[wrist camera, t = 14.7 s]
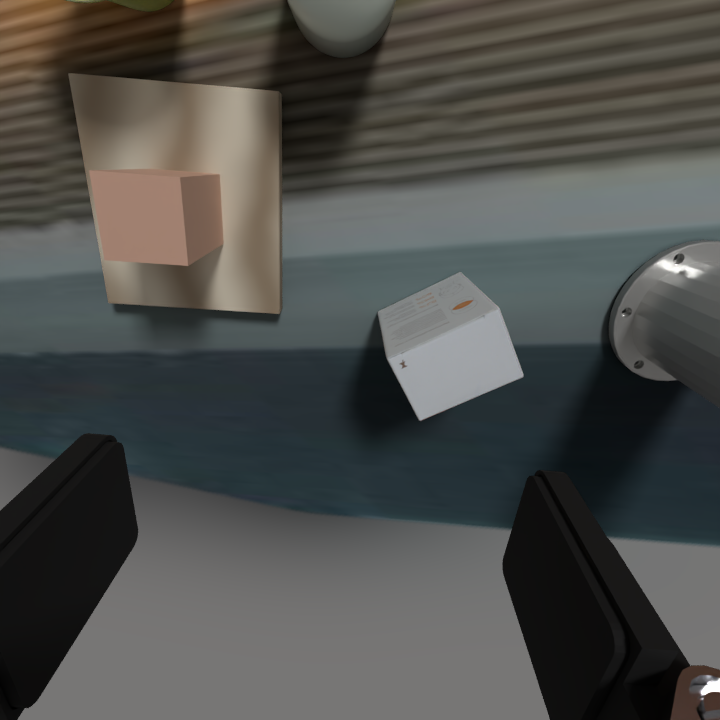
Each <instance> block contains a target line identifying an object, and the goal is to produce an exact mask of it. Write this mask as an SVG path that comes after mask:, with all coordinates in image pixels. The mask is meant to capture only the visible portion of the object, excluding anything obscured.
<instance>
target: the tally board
mask: <svg viewBox="0 0 720 720" xmlns="http://www.w3.org/2000/svg"><path fill="white" fill-rule="evenodd" d="M68 75H69V81H70V86H71V92H72V98H73V103H74V109H75V115H76V121H77V126H78V132H79V138H80V143H81V149H82V155H83V160H84V166H85V172H86V177H87V183H88V189H89V194H90V200H91V206H92V211H93V217H94V223H95V228H96V234H97V240H98V246H99V251H100V257H101V263H102V268H103V274H104V280H105V285H106V291H107V297H108V302H109V303H116V304H132V305H147V306H163V307H179V308H195V309H210V310H226V311H242V312H257V313H273V314H280V312H281V310H282V94H281V93H280V92H279V91H270V90H259V89H247V88H236V87H224V86H212V85H201V84H189V83H178V82H166V81H155V80H143V79H132V78H120V77H109V76H97V75H86V74H74V73H68ZM120 169H161V170H174V171H187V172H200V173H213V174H220V187H221V205H222V222H223V240H224V244H222V245H221V246H219V247H218V248H216V249H214V250H213V251H211V252H210V253H208V254H206V255H205V256H203V257H202V258H200V259H198V260H197V261H195V262H194V263H192V264H190V265H189V266H182V265H168V264H153V263H138V262H123V261H109V260H104V254H103V249H102V243H101V237H100V231H99V225H98V220H97V214H96V208H95V202H94V197H93V191H92V185H91V179H90V173H89V170H120Z"/></svg>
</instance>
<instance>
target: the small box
mask: <svg viewBox="0 0 720 720" xmlns="http://www.w3.org/2000/svg"><path fill="white" fill-rule="evenodd" d="M377 313H378V318H379V323H380V328H381V333H382V338H383V344H384V349H385V354H386V358H387V361H388V362H389V364H390V366H391V368H392V370H393V372H394V374H395V376H396V378H397V379H398V381H399V383H400V385H401V387H402V389H403V391H404V393H405V395H406V397H407V398H408V400H409V402H410V404H411V406H412V408H413V410H414V412H415V414H416V416H417V418H418V419H419V420H420V421H422V420H424V419H426V418H429V417H431V416H433V415H436V414H438V413H440V412H443V411H445V410H447V409H449V408H452V407H454V406H456V405H459V404H461V403H463V402H466V401H468V400H470V399H473V398H475V397H478V396H480V395H482V394H484V393H487V392H489V391H492V390H494V389H496V388H499V387H501V386H503V385H506V384H508V383H510V382H513V381H515V380H517V379H520V378H522V377H523V376H524V375H523V372H522V369H521V366H520V364H519V361H518V358H517V355H516V352H515V350H514V347H513V344H512V341H511V339H510V336H509V333H508V330H507V327H506V325H505V322H504V319H503V317H502V314H501V311H500V309H499V307H498V306H497V305H496V304H494V303H493V302H492V301H491V300H490V299H489V298H488V297H487V296H486V295H485V294H484V293H483V292H482V291H481V290H480V289H478V288H477V287H476V286H475V285H474V284H473V283H472V282H471V281H470V280H469V279H468V278H467V277H465V276H464V275H463V274H462V273H461V272H459V273H457V274H455V275H453V276H451V277H449V278H447V279H444V280H442V281H440V282H438V283H436V284H434V285H432V286H430V287H428V288H426V289H424V290H422V291H420V292H417V293H415V294H413V295H411V296H409V297H407V298H405V299H403V300H401V301H399V302H397V303H395V304H393V305H390V306H388V307H386V308H384V309H382V310H380V311H378V312H377Z"/></svg>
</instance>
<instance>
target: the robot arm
mask: <svg viewBox="0 0 720 720" xmlns="http://www.w3.org/2000/svg"><path fill="white" fill-rule="evenodd" d="M609 339H610V343H611V347H612V349H613V351H614V353H615V355H616V357H617V358H618V359H619V360H620V361H621V362H622V363H623V365H624V366H626V367H627V368H628V369H630V370H631V371H632V372H634V373H636V374H638V375H640V376H642V377H644V378H648V379H652V380H657V381H674V380H678V381H680V382H681V383H683V384H684V385H686V386H687V387H689V388H690V389H692V390H693V391H695V392H696V393H698V394H699V395H701V396H702V397H704V398H705V399H707V400H708V401H710V402H711V403H713V404H714V405H716V406H717V407H719V408H720V241H710V240H700V241H691V242H686V243H683V244H680V245H677V246H673V247H671V248H669V249H667V250H665V251H663V252H661V253H659V254H657V255H656V256H655V257H653V258H652V259H650V260H649V261H647V262H646V263H645V264H643V265H642V266H641V267H640V268H639V269H638V270H637V271H636V272H635V273H634V274H633V275H632V276H631V277H630V279H629V280H628V281H627V282H626V283H625V285H624V286H623V288H622V289H621V291H620V293H619V295H618V296H617V298H616V300H615V303H614V305H613V308H612V311H611V315H610V320H609ZM137 536H138V526H137V521H136V515H135V510H134V504H133V498H132V492H131V487H130V481H129V475H128V470H127V464H126V459H125V453H124V448H123V445H122V444H121V443H119V442H117V440H116V438H115V437H114V436H112V435H101V434H89V433H87V434H84V435H82V436H81V437H79V438H78V439H77V440H76V441H75V442H74V443H73V444H72V445H71V446H70V447H69V448H68V449H66V450H65V451H64V452H63V453H62V454H61V455H60V456H59V457H58V458H57V459H56V460H55V461H54V462H52V463H51V464H50V465H49V466H48V467H47V468H46V469H45V470H44V471H43V472H42V473H41V474H40V475H38V476H37V477H36V478H35V479H34V480H33V481H32V482H31V483H30V484H29V485H28V486H27V487H26V488H24V489H23V491H21V492H20V493H19V494H18V495H17V496H16V497H15V498H14V499H13V500H11V501H10V502H9V503H8V504H7V505H6V506H5V507H4V508H3V509H2V510H1V511H0V720H17V719H18V717H19V716H20V714H21V713H22V711H23V710H24V708H29V707H31V706H32V705H33V704H34V703H35V702H36V701H37V700H38V698H39V697H40V696H41V694H42V692H43V691H44V689H45V687H46V686H47V684H48V683H49V681H50V680H51V678H52V676H53V675H54V673H55V671H56V670H57V668H58V667H59V665H60V663H61V662H62V660H63V659H64V657H65V656H66V654H67V652H68V651H69V649H70V648H71V646H72V645H73V643H74V641H75V640H76V638H77V637H78V635H79V633H80V632H81V630H82V629H83V627H84V625H85V624H86V622H87V621H88V619H89V617H90V616H91V614H92V613H93V611H94V609H95V608H96V606H97V605H98V603H99V601H100V600H101V598H102V597H103V595H104V593H105V592H106V590H107V589H108V587H109V585H110V584H111V582H112V581H113V579H114V577H115V576H116V574H117V573H118V571H119V570H120V568H121V566H122V565H123V563H124V561H125V560H126V558H127V557H128V555H129V554H130V552H131V550H132V549H133V547H134V545H135V543H136V540H137ZM503 574H504V577H505V581H506V584H507V587H508V590H509V593H510V596H511V599H512V603H513V606H514V609H515V612H516V615H517V618H518V621H519V624H520V627H521V631H522V633H523V637H524V640H525V643H526V646H527V649H528V652H529V655H530V658H531V662H532V664H533V668H534V670H535V674H536V677H537V680H538V683H539V687H540V690H541V693H542V696H543V699H544V702H545V705H546V708H547V711H548V714H549V718H550V720H720V670H719V669H716V668H712V667H708V666H705V665H691V666H690V664H689V663H688V661H687V660H686V658H685V656H684V655H683V653H682V652H681V650H680V649H679V647H678V646H677V644H676V642H675V641H674V639H673V638H672V636H671V635H670V633H669V632H668V630H667V628H666V627H665V625H664V624H663V622H662V620H661V619H660V617H659V616H658V614H657V613H656V611H655V609H654V608H653V606H652V605H651V603H650V602H649V600H648V599H647V597H646V595H645V594H644V592H643V591H642V589H641V588H640V586H639V584H638V583H637V581H636V580H635V578H634V576H633V575H632V573H631V572H630V570H629V569H628V567H627V566H626V564H625V562H624V561H623V559H622V558H621V556H620V555H619V553H618V551H617V550H616V548H615V547H614V545H613V544H612V543H611V541H610V540H609V539H608V538H607V537H606V535H605V533H604V532H603V530H602V529H601V527H600V526H599V524H598V522H597V521H596V519H595V518H594V516H593V515H592V513H591V511H590V510H589V508H588V507H587V505H586V503H585V502H584V500H583V499H582V497H581V496H580V494H579V492H578V491H577V489H576V488H575V486H574V485H573V483H572V481H571V480H570V478H569V477H568V475H567V474H566V473H564V472H556V471H544V470H539V471H537V472H536V473H535V475H534V476H529V477H528V478H527V481H526V484H525V487H524V491H523V494H522V497H521V501H520V504H519V507H518V511H517V514H516V517H515V521H514V524H513V527H512V531H511V534H510V538H509V541H508V544H507V547H506V551H505V554H504V558H503Z"/></svg>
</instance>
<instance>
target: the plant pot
mask: <svg viewBox="0 0 720 720" xmlns="http://www.w3.org/2000/svg"><path fill="white" fill-rule="evenodd" d="M66 1H71V2H77V3H96V2H101V1H105V0H66ZM108 1H111V2H114V3H117V4H120V5H122V6H125V7H128V8H132V9H135V10H139V11H147V12H151V11H157V10H160V9H162V8H164V7H166V6H167V5H169V4H170V3H171V2H173V1H174V0H108Z"/></svg>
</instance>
